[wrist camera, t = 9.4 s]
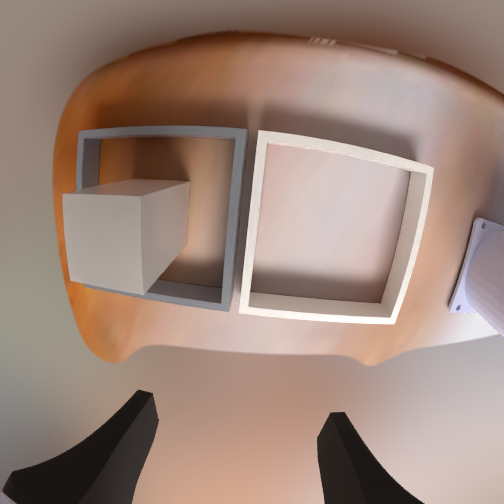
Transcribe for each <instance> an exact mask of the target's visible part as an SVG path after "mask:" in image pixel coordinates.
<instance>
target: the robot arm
mask: <svg viewBox="0 0 504 504" xmlns="http://www.w3.org/2000/svg"><path fill="white" fill-rule="evenodd" d="M482 224H483V226H482ZM457 306H458V307H457ZM448 310H449V311H450V312H451V313H479V314H480V315H481V316H482V317H483V318H484V319H485V320H486V321H487V322H488V323H489V324H490V325H492V326H493V327H494V328H495V329H496V330H497V331H498V332H499V333H500V334H501V335H502V336H503V337H504V226H503V225H500V224H497V223H494V222H491V221H488V220H485V219H482V218H479V217H477V218H476V219H475V220H474V224H473V228H472V233H471V237H470V241H469V245H468V249H467V252H466V256H465V259H464V263H463V266H462V269H461V273H460V276H459V279H458V282H457V285H456V288H455V290H454V293H453V296H452V299H451V301H450V304H449V307H448ZM158 422H159V419H158V415H157V411H156V406H155V402H154V397H153V393H150V392H146V391H142V390H138V391H136V393H135V394H134V395H133V396H132V397H131V398H130V399H129V400H128V401H127V402H126V403H125V404H124V405H123V406H122V407H121V409H119V410H118V411H117V412H116V413H115V414H114V415H113V416H112V417H111V418H110V419H109V420H108V421H107V422H106V423H105V424H103V425H102V426H101V427H100V428H99V429H97V430H96V431H95V432H94V433H93V434H91V435H90V436H89V437H87V438H86V439H85V440H83V441H82V442H80V443H79V444H77V445H76V446H74V447H73V448H71V449H69V450H67V451H66V452H64V453H62V454H60V455H58V456H56V457H54V458H52V459H50V460H47V461H45V462H42V463H40V464H37V465H34V466H31V467H28V468H24V469H20V470H17V471H13V472H12V473H11V475H10V476H9V478H8V480H7V482H6V484H5V486H4V488H3V492H4V493H5V494H6V495H7V496H8V497H9V498H10V499H12V500H13V501H14V502H13V501H12V500H10V499H9V498H8V497H7V496H5V495H4V494H3V493H1V492H0V504H16V503H17V504H132V500H133V495H134V491H135V487H136V484H137V481H138V478H139V476H140V473H141V470H142V468H143V466H144V463H145V461H146V458H147V456H148V453H149V451H150V448H151V446H152V443H153V441H154V437H155V434H156V430H157V426H158ZM317 450H318V463H319V469H320V474H321V481H322V487H323V493H324V501H325V504H424V503H423V502H421V501H420V500H418V499H417V498H415V497H414V496H413V495H411V494H410V493H409V492H408V491H406V490H405V489H404V488H403V487H402V486H401V485H400V484H398V483H397V482H396V481H395V480H394V479H393V478H392V477H391V476H390V475H389V474H388V472H387V471H386V470H385V469H384V468H383V467H382V466H381V464H380V463H379V462H378V461H377V459H376V458H375V457H374V456H373V454H372V453H371V452H370V450H369V449H368V447H367V446H366V445H365V443H364V442H363V440H362V439H361V437H360V436H359V434H358V433H357V431H356V429H355V428H354V426H353V425H352V423H351V422H350V420H349V418H348V417H347V415H346V413H345V412H333V413H330V415H329V417H328V418H327V420H326V422H325V424H324V426H323V428H322V430H321V432H320V434H319V436H318V437H317Z"/></svg>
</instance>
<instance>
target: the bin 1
mask: <svg viewBox="0 0 504 504" xmlns="http://www.w3.org/2000/svg"><path fill="white" fill-rule="evenodd" d="M137 137H185V138H209V139H225V140H236V141H235V150H234V159H233V169H232V179H231V189H230V200H229V211H228V222H227V234H226V246H225V259H224V272H223V286H222V288H215V287H207V286H200V285H193V284H186V283H179V282H172V281H165V280H158V279H157V280H156V281H155V282H154V284H153V285H152V286H151V287H150V288H149V289H148V291H147V292H146V293H145V294H144V295H140V294H134V293H129V292H124V291H118V290H113V289H108V288H103V287H98V286H94V285H89V284H84V283H83V285H84V287H89V288H93V289H98V290H103V291H107V292H112V293H117V294H122V295H127V296H132V297H138V298H143V299H148V300H154V301H160V302H166V303H172V304H178V305H184V306H191V307H197V308H204V309H211V310H219V311H226V312H229V310H230V306H231V301H232V297H233V286H234V275H235V264H236V254H237V243H238V233H239V222H240V212H241V202H242V193H243V183H244V174H245V164H246V155H247V146H248V137H249V132H248V130H247V129H241V128H228V127H210V126H134V127H117V128H104V129H94V130H85V131H79V136H78V149H77V168H76V190H80V189H84V188H89V187H93V186H98V184H99V158H100V144H101V139H113V138H137Z"/></svg>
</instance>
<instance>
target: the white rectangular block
mask: <svg viewBox="0 0 504 504" xmlns="http://www.w3.org/2000/svg"><path fill="white" fill-rule="evenodd" d="M189 196H190V181H175V180H154V179H128V180H123V181H117V182H112V183H107V184H103V185H98V186H93V187H89V188H84V189H80V190H76V191H72V192H68V193H64V194H63V218H64V232H65V243H66V252H67V260H68V268H69V274H70V280H71V281H75V282H80V283H84V284H89V285H94V286H98V287H103V288H108V289H113V290H118V291H124V292H129V293H134V294H140V295H144V294H145V293H146V292H147V291H148V289H149V288H150V287H151V286H152V285H153V284H154V282H155V281H156V280H157V279H158V278H159V276H160V275H161V274H162V273H163V272H164V271H165V269H166V268H167V267H168V266H169V265H170V264H171V262H172V261H173V260H174V259H175V258H176V257H177V256H178V254H179V253H180V252H181V251H182V250H183V249H184V248H185V247H186V245H187V236H188V213H189Z"/></svg>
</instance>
